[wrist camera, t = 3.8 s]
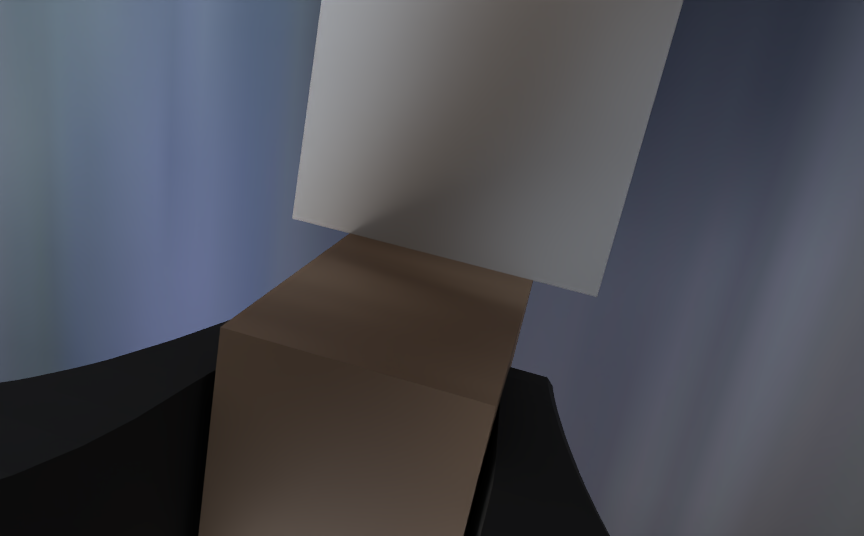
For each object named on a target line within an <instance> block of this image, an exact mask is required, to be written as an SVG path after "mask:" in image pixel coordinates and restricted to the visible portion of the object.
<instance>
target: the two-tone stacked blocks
mask: <svg viewBox="0 0 864 536" xmlns="http://www.w3.org/2000/svg"><path fill="white" fill-rule="evenodd" d="M682 3H683V0H322V2H321V9H320V17H319V24H318V32H317V39H316V47H315V54H314V61H313V69H312V76H311V84H310V91H309V99H308V106H307V114H306V121H305V128H304V136H303V143H302V151H301V158H300V166H299V173H298V180H297V188H296V195H295V203H294V210H293V219H297V220H301V221H305V222H308V223H312V224H316V225H320V226H324V227H328V228H332V229H336V230H339V231H343V232H347V233H350V234H348V235H347V236H346V237H344V238H343V239H341V240H340V241H339V242H337V243H336V244H335V245H333V246H332V247H330V248H329V249H328V250H326V251H325V252H324V253H322V254H321V255H319V256H318V257H317V258H315V259H314V260H312V261H311V262H310V263H308V264H307V265H306V266H304V267H303V268H301V269H300V270H299V271H297V272H296V273H294V274H293V275H292V276H290V277H289V278H288V279H286V280H285V281H283V282H282V283H281V284H279V285H278V286H277V287H275V288H274V289H272V290H271V291H270V292H268V293H267V294H265V295H264V296H263V297H261V298H260V299H259V300H257V301H256V302H254V303H253V304H252V305H250V306H249V307H247V308H246V309H245V310H243V311H242V312H241V313H239V314H238V315H236V316H235V317H234V318H232V319H231V320H230V321H228V322H227V323H225V324H224V325H223V326H221V327H220V335H219V345H218V354H217V364H216V373H215V383H214V392H213V402H212V411H211V421H210V430H209V440H208V449H207V459H206V468H205V477H204V487H203V496H202V506H201V515H200V525H199V534H198V536H465V535H466V531H467V527H468V524H469V520H470V516H471V512H472V508H473V504H474V500H475V496H476V492H477V488H478V484H479V480H480V477H481V473H482V469H483V465H484V461H485V457H486V453H487V449H488V445H489V441H490V437H491V433H492V430H493V426H494V422H495V418H496V414H497V410H498V406H499V402H500V398H501V395H502V391H503V388H504V385H505V381H506V378H507V374H508V371H509V368H510V367H511V364H512V360H513V357H514V353H515V349H516V345H517V341H518V337H519V333H520V329H521V326H522V322H523V318H524V314H525V310H526V306H527V302H528V298H529V295H530V291H531V287H532V283H533V281H537V282H541V283H545V284H549V285H553V286H557V287H561V288H565V289H568V290H572V291H576V292H580V293H584V294H588V295H592V296H596V297H597V295H598V291H599V288H600V285H601V281H602V278H603V274H604V271H605V267H606V264H607V261H608V257H609V254H610V250H611V247H612V243H613V240H614V237H615V233H616V230H617V226H618V223H619V219H620V216H621V213H622V209H623V206H624V202H625V199H626V195H627V192H628V189H629V185H630V182H631V178H632V175H633V171H634V168H635V165H636V161H637V158H638V154H639V151H640V147H641V144H642V141H643V137H644V134H645V130H646V127H647V123H648V120H649V117H650V113H651V110H652V106H653V103H654V99H655V96H656V93H657V89H658V86H659V82H660V79H661V75H662V72H663V69H664V65H665V62H666V58H667V55H668V51H669V48H670V45H671V41H672V38H673V34H674V31H675V27H676V24H677V21H678V17H679V14H680V10H681V7H682Z"/></svg>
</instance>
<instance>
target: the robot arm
mask: <svg viewBox="0 0 864 536" xmlns="http://www.w3.org/2000/svg"><path fill="white" fill-rule="evenodd" d="M228 321H230V320H228ZM228 321H226V322H223V323H220V324H217V325H214V326H212V327H209V328H206V329H203V330H200V331H197V332H195V333H192V334H189V335H186V336H183V337H180V338H177V339H174V340H171V341H168V342H165V343H161V344H158V345H155V346H152V347H148V348H145V349H142V350H139V351H135V352H132V353H129V354H126V355H122V356H119V357H116V358H113V359H109V360H105V361H101V362H98V363H94V364H90V365H86V366H82V367H78V368H73V369H69V370H64V371H60V372H55V373H50V374H46V375H41V376H36V377H31V378H26V379H21V380H15V381H8V382H1V383H0V536H198V534H199V525H200V515H201V506H202V496H203V487H204V477H205V468H206V459H207V449H208V440H209V430H210V421H211V411H212V402H213V392H214V383H215V373H216V364H217V354H218V345H219V335H220V327H221V326H223V325H224V324H225V323H227V322H228ZM465 536H610V535H609V533H608V531H607V529H606V528H605V526H604V524H603V522H602V520H601V518H600V516H599V514H598V512H597V510H596V508H595V506H594V504H593V502H592V500H591V497H590V495H589V493H588V491H587V489H586V487H585V485H584V482H583V480H582V478H581V475H580V473H579V471H578V468H577V465H576V463H575V460H574V458H573V455H572V453H571V450H570V447H569V445H568V442H567V439H566V436H565V434H564V431H563V427H562V424H561V421H560V418H559V414H558V411H557V407H556V403H555V398H554V393H553V386H552V385H551V383H550V381H549V379H548V378H547V377H544V376H540V375H537V374H533V373H529V372H526V371H522V370H519V369H515V368H512V367H510V368H509V371H508V374H507V378H506V381H505V385H504V388H503V391H502V395H501V398H500V402H499V406H498V410H497V414H496V418H495V422H494V426H493V430H492V433H491V437H490V441H489V445H488V449H487V453H486V457H485V461H484V465H483V469H482V473H481V477H480V480H479V484H478V488H477V492H476V496H475V500H474V504H473V508H472V512H471V516H470V520H469V524H468V527H467V531H466V535H465Z"/></svg>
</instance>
